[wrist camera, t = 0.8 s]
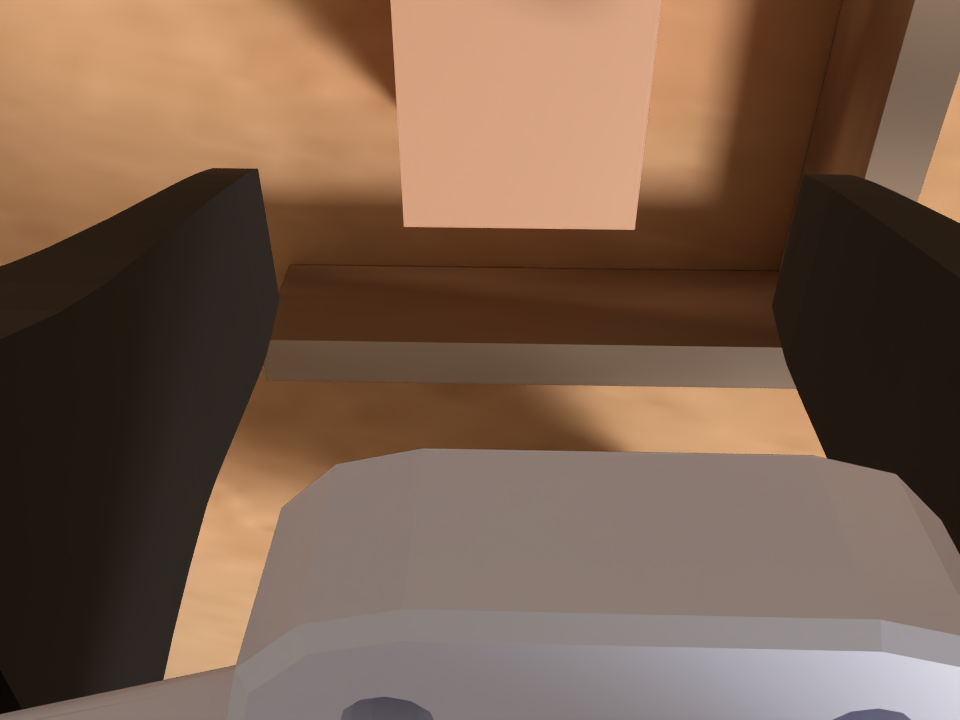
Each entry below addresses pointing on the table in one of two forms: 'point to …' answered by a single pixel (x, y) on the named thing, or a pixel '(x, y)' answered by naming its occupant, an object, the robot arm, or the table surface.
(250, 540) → the table surface
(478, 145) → the terracotta block
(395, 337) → the open box
